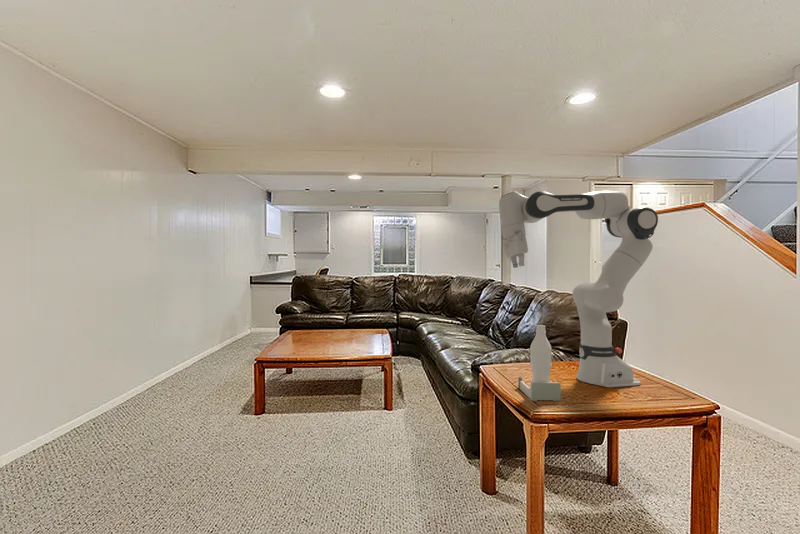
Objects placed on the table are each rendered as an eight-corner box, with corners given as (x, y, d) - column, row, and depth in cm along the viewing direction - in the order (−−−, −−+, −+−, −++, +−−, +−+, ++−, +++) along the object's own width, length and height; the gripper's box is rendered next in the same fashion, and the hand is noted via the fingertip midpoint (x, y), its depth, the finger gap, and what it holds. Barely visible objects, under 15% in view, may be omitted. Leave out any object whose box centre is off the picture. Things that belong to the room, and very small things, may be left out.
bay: (544, 387, 141) (544, 371, 141) (560, 400, 127) (560, 383, 127) (518, 387, 141) (518, 371, 141) (532, 400, 127) (532, 383, 126)
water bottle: (532, 399, 128) (532, 327, 128) (528, 391, 135) (528, 323, 135) (554, 399, 127) (554, 327, 127) (548, 392, 134) (548, 324, 134)
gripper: (529, 227, 138) (534, 264, 137) (515, 235, 159) (519, 267, 158) (512, 229, 139) (517, 266, 138) (500, 237, 159) (505, 269, 158)
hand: (518, 266), depth 148 cm, fingers open, 8 cm apart
